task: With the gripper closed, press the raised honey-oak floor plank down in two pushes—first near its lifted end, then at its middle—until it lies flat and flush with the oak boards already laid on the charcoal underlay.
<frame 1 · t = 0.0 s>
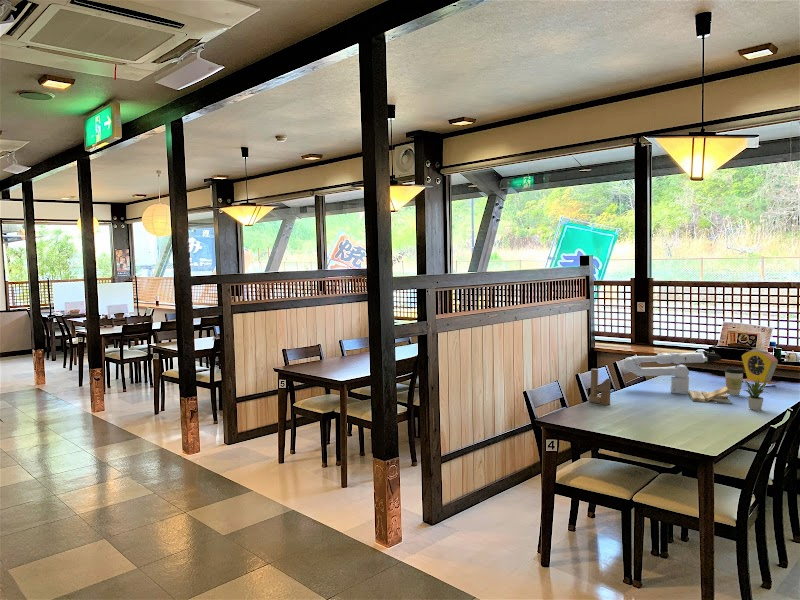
hand: (719, 356, 339), 22 cm above the table, tool horizontal, fingers open, 7 cm apart
coffee cup: (733, 395, 340), on the table
oak plank: (716, 393, 325), point 4 cm above the table, hinge at 28.0°
yellow mantel clock: (758, 384, 369), on the table
wooden block: (599, 403, 322), on the table
house plant: (757, 410, 306), on the table
floor panel: (709, 398, 331), on the table
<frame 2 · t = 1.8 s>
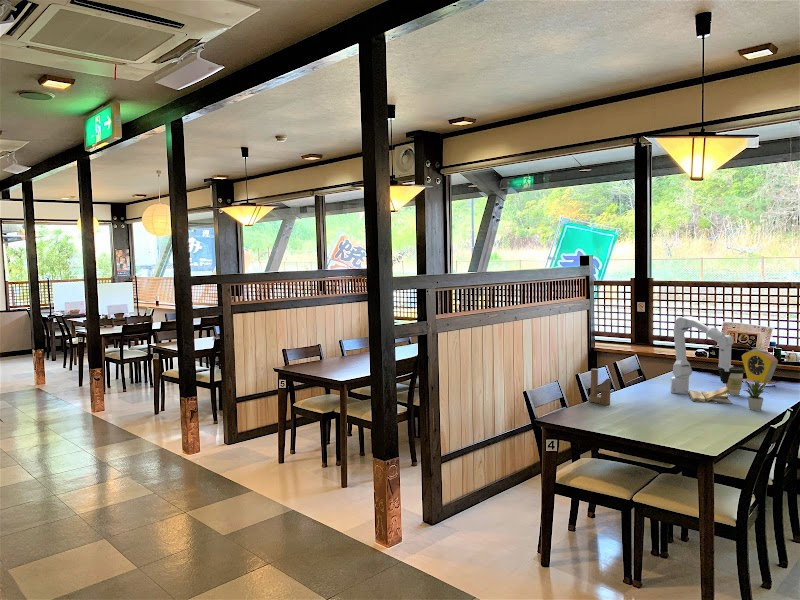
hand: (724, 382, 324), 10 cm above the table, tool pointing down, fingers open, 5 cm apart
nothing on the table moved.
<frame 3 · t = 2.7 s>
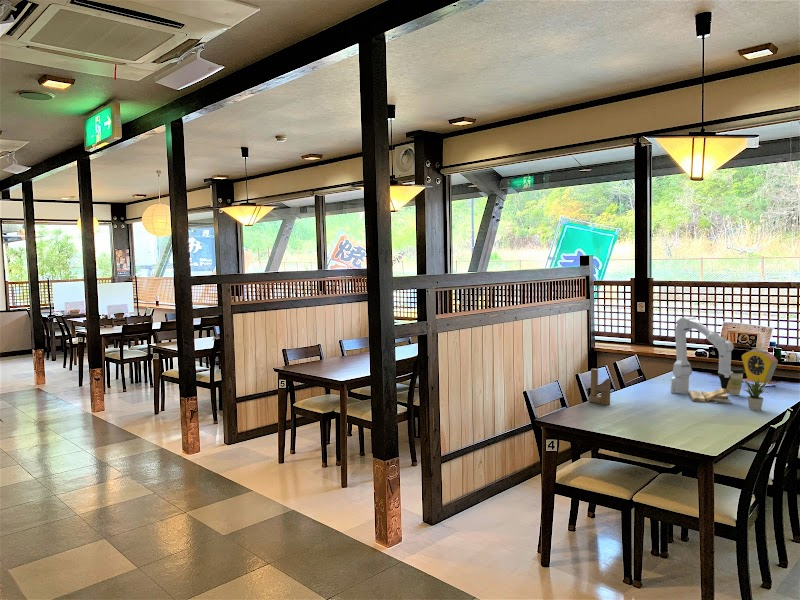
hand: (724, 388, 324), 7 cm above the table, tool pointing down, fingers closed, pressing on oak plank
oak plank: (716, 393, 325), point 4 cm above the table, hinge at 28.0°, touching gripper
everything else where it was.
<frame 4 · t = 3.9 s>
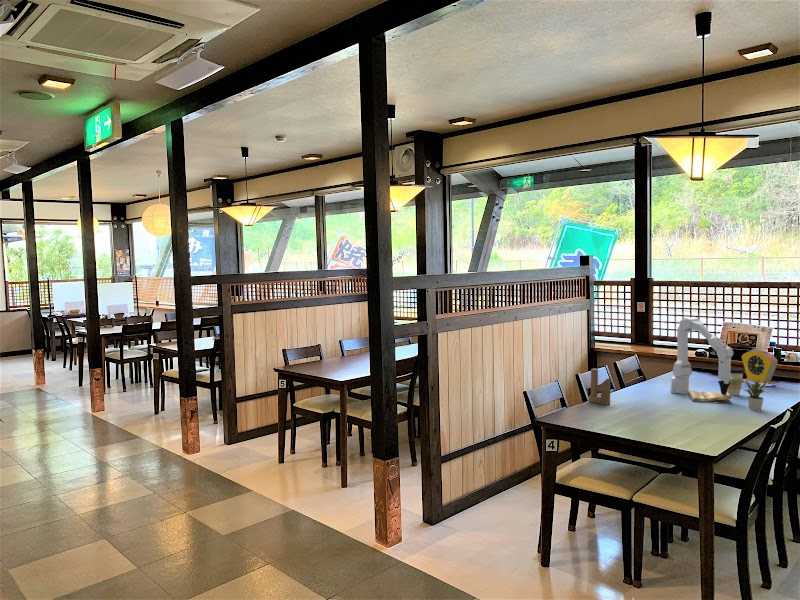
hand: (723, 394, 324), 4 cm above the table, tool pointing down, fingers closed
oak plank: (717, 396, 325), point 2 cm above the table, hinge at 11.0°
everything else where it was.
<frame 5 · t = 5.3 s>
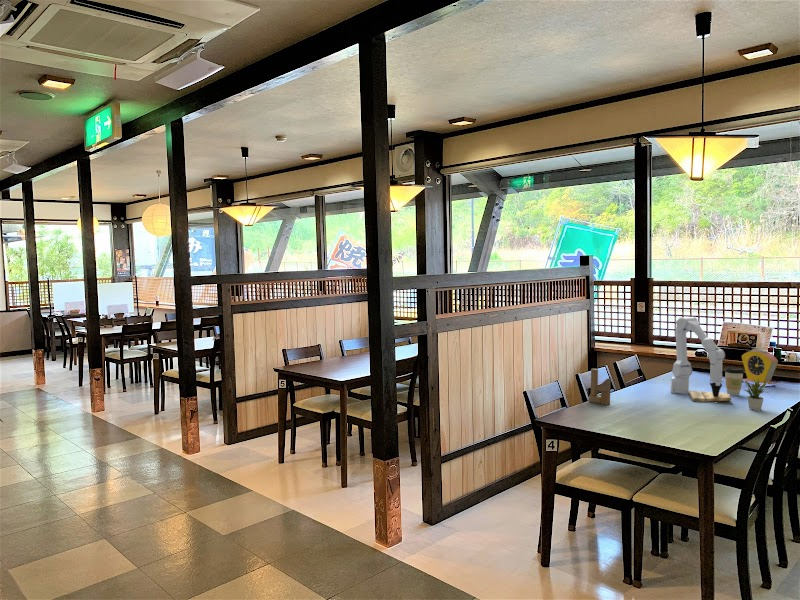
hand: (715, 396, 326), 2 cm above the table, tool pointing down, fingers closed, pressing on oak plank
oak plank: (717, 397, 325), point 2 cm above the table, hinge at 6.7°, touching gripper
everything else where it was.
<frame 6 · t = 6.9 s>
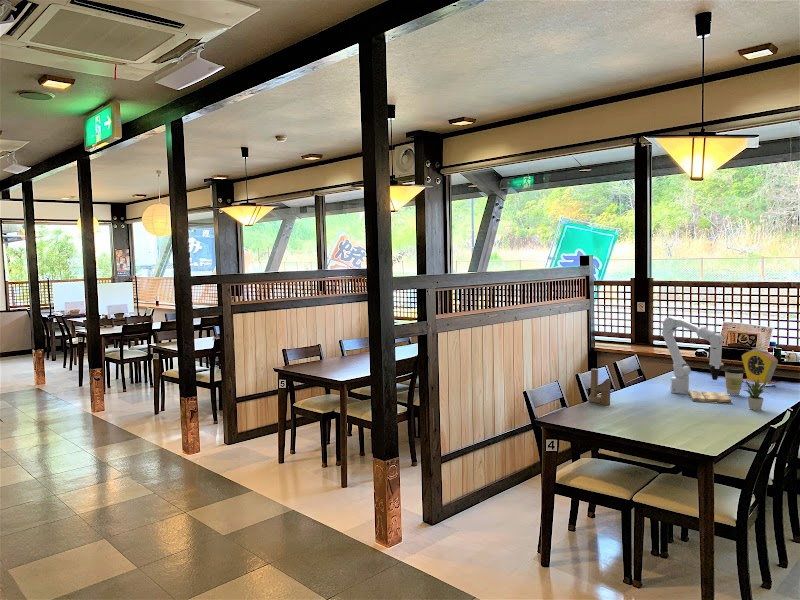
hand: (714, 379, 333), 10 cm above the table, tool pointing down, fingers closed
oak plank: (717, 398, 325), point 1 cm above the table, hinge at 1.4°
everything else where it was.
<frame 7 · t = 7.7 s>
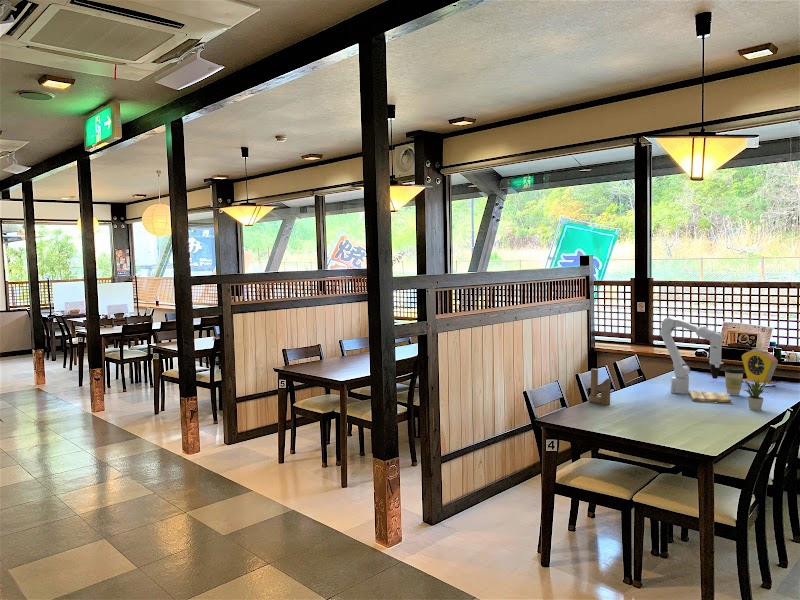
hand: (714, 378, 335), 10 cm above the table, tool pointing down, fingers closed
nothing on the table moved.
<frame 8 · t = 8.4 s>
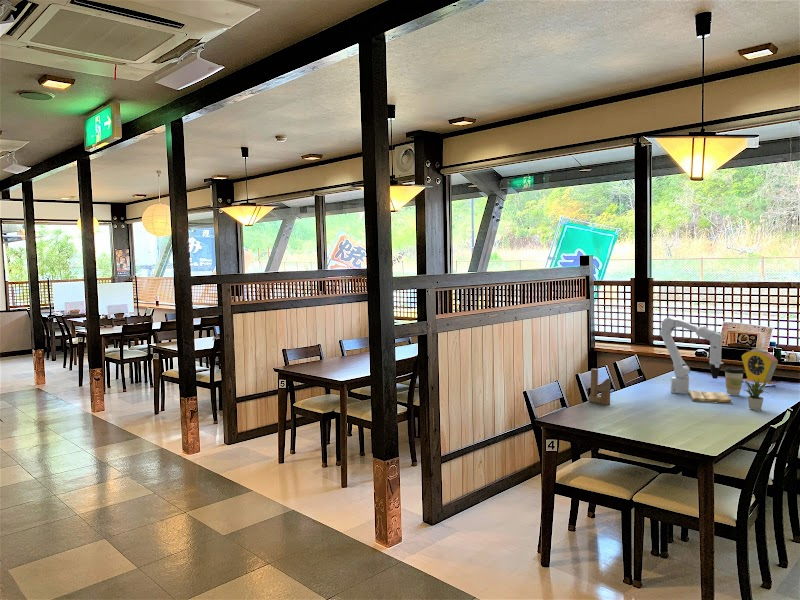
hand: (714, 378, 335), 10 cm above the table, tool pointing down, fingers closed
nothing on the table moved.
at the end: oak plank at +1° (first picture: +28°) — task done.
